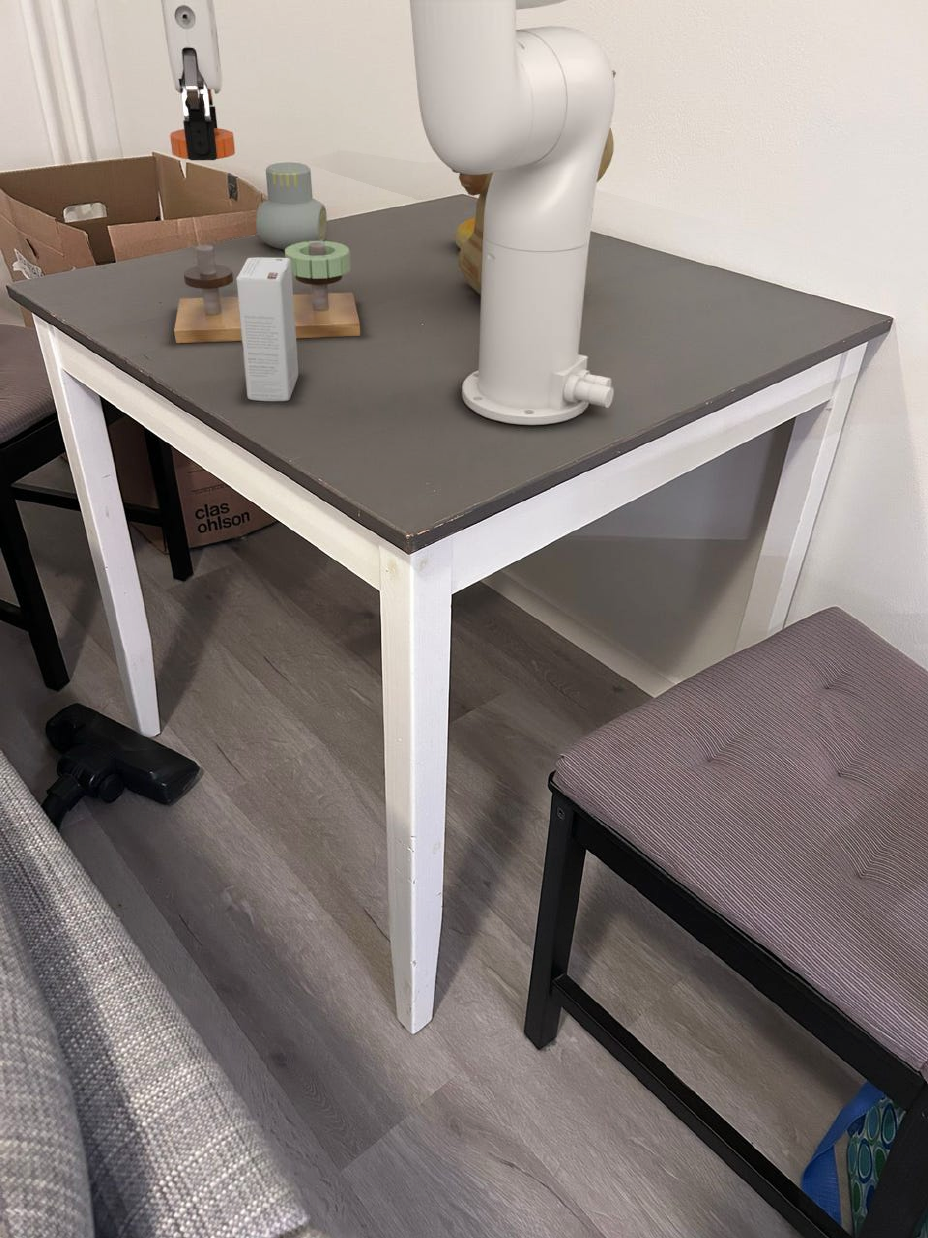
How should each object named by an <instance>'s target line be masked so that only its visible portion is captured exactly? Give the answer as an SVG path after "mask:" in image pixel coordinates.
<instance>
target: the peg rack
mask: <svg viewBox="0 0 928 1238" xmlns="http://www.w3.org/2000/svg"><path fill="white" fill-rule="evenodd" d="M195 251H196V256H197V257H196V258H197V264H198V265H195V266H191V267H189V268H186V269H184V271H183V279H184V284H185V285H186V286H188V287H190V288H193V289H200V290H201V293H202V297H187V298H186V297H185V298H179V299H178V305H177V310H176V316H175V322H174V328H173V334H174V339H175V343H176V344H194V343H195V344H196V343H220V342H221V343H222V342H242V336H241V326H240V315H239V302H238V296H220V290H219V288H224V287H227V286H229V285H231V284H232V283H233V281H234V275H233V269H232V268H230V267H229V266H226V265H221V264H216V259H215V251H214V247H213V246H212V245H208V244H202V245H198V246H196V248H195ZM309 255H311V256H320V255H326V253H325V244H324V243H320V242H313V243H310V244H309ZM294 278H295V280H296V281H297V282H299V283H302V284H304V285H310V286H311V293H303V294H302V293H301V294H293V303H294V318H295V332H296V339H312V338H313V339H317V338H339V337H340V338H342V337H343V338H344V337H360V336H361V323H360V319H359V314H358V310H357V306H356V301H355V297H354V294H353V292H332V293H331V292H329V287H328V285H331V284H336V283H338V282H340V281H341V280H343V274H342V275H341V276H336V277H332V278H329V277H327V278H321V279H313V278H303V277H298V276H294Z"/></svg>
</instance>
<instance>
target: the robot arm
mask: <svg viewBox="0 0 928 1238" xmlns="http://www.w3.org/2000/svg"><path fill="white" fill-rule="evenodd" d="M563 2H567V0H409V7H410V20H411V32H412V43H413V44H412V45H413V54H414V55H413V56H414V67H415V77H416V78H415V79H416V88H417V97H418V105H419V112H420V116H421V122H422V126H423V129H424V132H425V135H426V138H427V140H428V142H429V145H430V147H431V149H432V150H433V152H434V153H435V155H436V156H437V157H438V158H439V160H440V161H441V162H442V163H443V164H444V165H445V166H447V167H448V168H449V169H451V170H452V169H453V170H455V171H457V172H459V173H458V174H460V173H463V174H468V175H481V174H488V173H493V175H492V178H491V182H490V185H489V189H488V193H487V198H486V204H485V212H484V231H483V253H482V283H481V295H480V313H479V315H480V316H479V342H478V343H479V344H478V370H476V371H473V372H472V373H470V375H468V376H467V377H466V378H465V379H464V380H463V383H462V386H461V399H462V400H463V402H464V404H465V405H466V407H468V408H469V409H470V410H471V411H473V412H475V413H476V414H478V415H480V416H482V417H484V418H487V419H490V420H493V421H498V422H501V423H505V424H511V425H518V426H519V425H520V426H544V425H545V426H546V425H551V424H558V423H562V422H566V421H569V420H571V419H573V418H576V417H577V416H579V415H580V414H582V413H583V412H585V410H586V409H587V408H588V407H589V404H590V405H594V406H596V407H602V408H604V409H608V408H610V406H611V405H612V402H613V399H614V394H615V393H614V392H615V390H614V387H613V386H612V378H610V377H607V376H602V375H595V374H592V373H590V370H588V369H587V366H588V358H589V357H588V355H584V354H580V353H579V351H580V350H579V349H580V340H581V328H582V318H583V310H584V309H583V308H584V298H585V297H584V296H585V288H586V287H585V286H586V277H587V268H588V257H589V246H590V239H591V231H592V220H593V210H594V204H595V203H594V202H595V196H596V189H597V183H598V182H597V178H598V173H599V168H600V164H601V159H602V156H603V152H604V148H605V145H606V141H607V137H608V133H609V129H610V128H611V125H612V120H613V115H614V109H615V97H616V86H615V85H616V83H615V77H613V72H612V70H613V69H612V66H611V62H610V60H609V59H608V56H607V54H606V53H605V51H604V49H603V48H602V47H601V46H600V44H598V42H596V40H594V38H592V37H591V36H589V35H588V34H586V32H585V33H584V32H582V31H580V30H578V29H575V28H570V27H566V26H552V25H551V26H549V25H548V26H539V27H532V28H531V27H530V28H522V29H517V10H526V9H527V10H528V9H535V8H543V7H548V6H552V5H557V4H560V3H563ZM160 4H161V12H162V18H163V24H164V30H165V40H166V44H167V51H168V58H169V63H170V69H171V74H172V80H173V85H174V88H175V90H176V91H177V92H178V93H179V94H181V97H182V107H183V109H182V110H183V117H184V119H183V121H182V123H183V129H184V131H185V139H186V147H187V154H188V158H189V159H188V160H189V161H216V160H218V159H217V151H216V142H215V133H214V128H218V120H217V110H216V106H214V100H213V92H212V90H213V91H214V94H215V95H217V94H219V93H220V92H221V90H222V86H223V75H222V65H221V58H220V48H219V39H218V30H217V20H216V14H215V5H214V0H160Z"/></svg>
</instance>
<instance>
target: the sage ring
mask: <svg viewBox="0 0 928 1238" xmlns="http://www.w3.org/2000/svg"><path fill="white" fill-rule="evenodd" d="M313 242H320V243H324V244H325V253H326V255H320V256H311V255H309V244H310V243H313ZM284 256H285V257H284V258H289V259H290V260H291V272H292V276H294V277H295V276H298V277H303V278H313V279H321V278H327V277H329V278H332V277H336V276H341V275H342V276H343V275H345V274H347V273H348V272H350V270H351V252H350V248H349V247H348V245H346V244H343V243H341V242H337V241H328V240H323V241H309V243H308V242H301V243H296V244H294V245H293V244H292V245H291V246H289V247H287V248H286V249H285V250H284Z"/></svg>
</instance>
